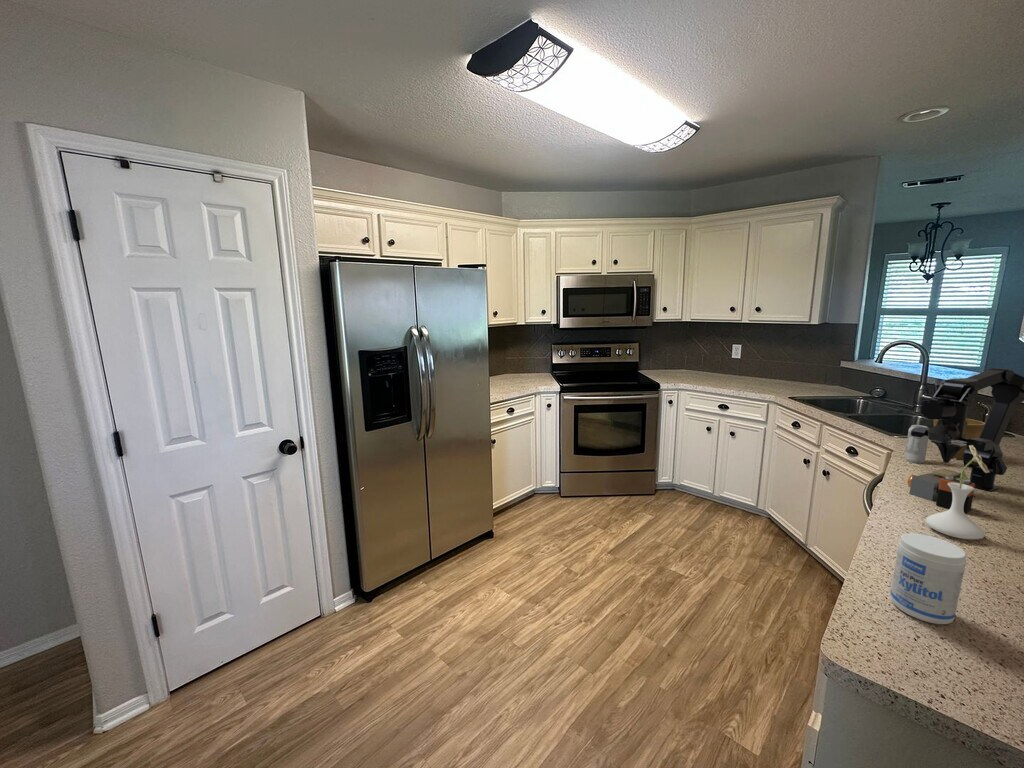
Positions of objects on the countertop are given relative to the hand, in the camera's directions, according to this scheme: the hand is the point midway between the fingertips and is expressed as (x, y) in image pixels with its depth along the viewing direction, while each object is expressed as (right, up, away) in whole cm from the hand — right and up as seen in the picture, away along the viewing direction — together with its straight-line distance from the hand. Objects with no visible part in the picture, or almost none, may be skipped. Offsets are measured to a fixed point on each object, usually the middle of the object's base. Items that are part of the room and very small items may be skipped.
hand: (945, 462), depth 139 cm
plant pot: (+42, -5, +37) cm, 56 cm away
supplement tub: (-62, -20, -54) cm, 85 cm away
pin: (-7, -10, -4) cm, 13 cm away
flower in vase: (-23, -15, -24) cm, 36 cm away
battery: (-8, -13, -10) cm, 18 cm away
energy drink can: (+20, -6, +31) cm, 38 cm away
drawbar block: (-3, -11, +1) cm, 11 cm away
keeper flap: (+1, -4, +1) cm, 5 cm away
